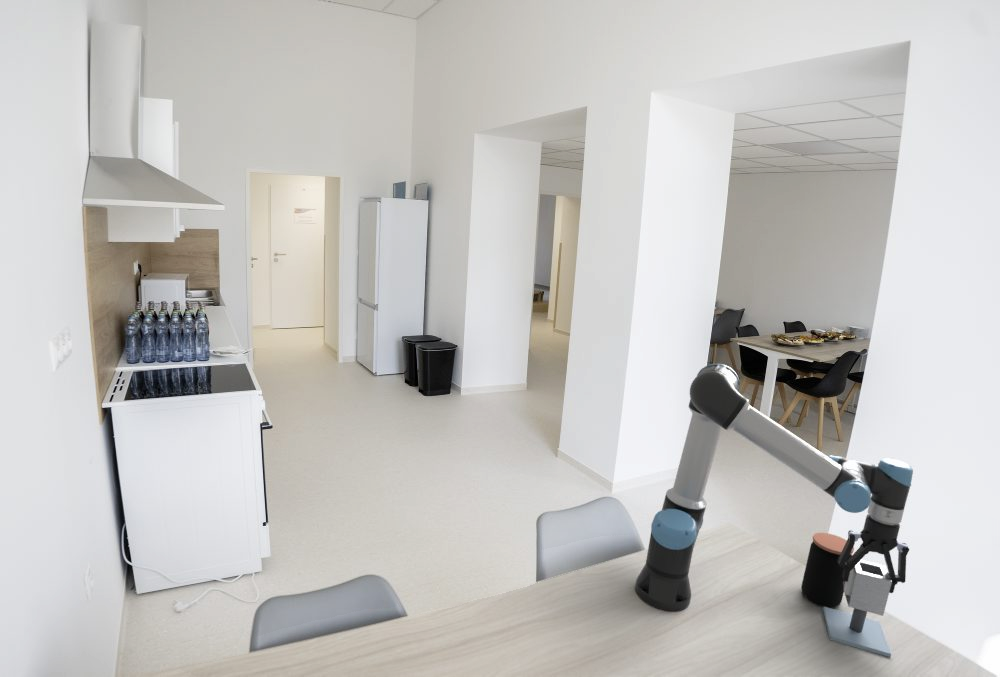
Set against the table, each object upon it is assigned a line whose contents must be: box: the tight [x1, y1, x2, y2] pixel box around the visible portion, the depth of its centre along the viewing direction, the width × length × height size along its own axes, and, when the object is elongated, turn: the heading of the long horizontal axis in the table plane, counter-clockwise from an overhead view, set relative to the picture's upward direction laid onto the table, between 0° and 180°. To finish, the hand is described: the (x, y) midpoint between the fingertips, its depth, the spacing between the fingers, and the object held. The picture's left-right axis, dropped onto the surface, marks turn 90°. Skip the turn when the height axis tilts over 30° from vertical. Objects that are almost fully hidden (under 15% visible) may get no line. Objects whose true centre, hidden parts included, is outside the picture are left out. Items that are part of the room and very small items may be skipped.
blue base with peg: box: [822, 607, 892, 658], centre depth 166 cm, size 14×14×13 cm
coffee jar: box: [800, 532, 855, 609], centre depth 180 cm, size 11×11×18 cm
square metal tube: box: [843, 559, 892, 616], centre depth 164 cm, size 8×8×10 cm
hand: (864, 596), depth 165 cm, fingers closed on square metal tube, 8 cm apart
